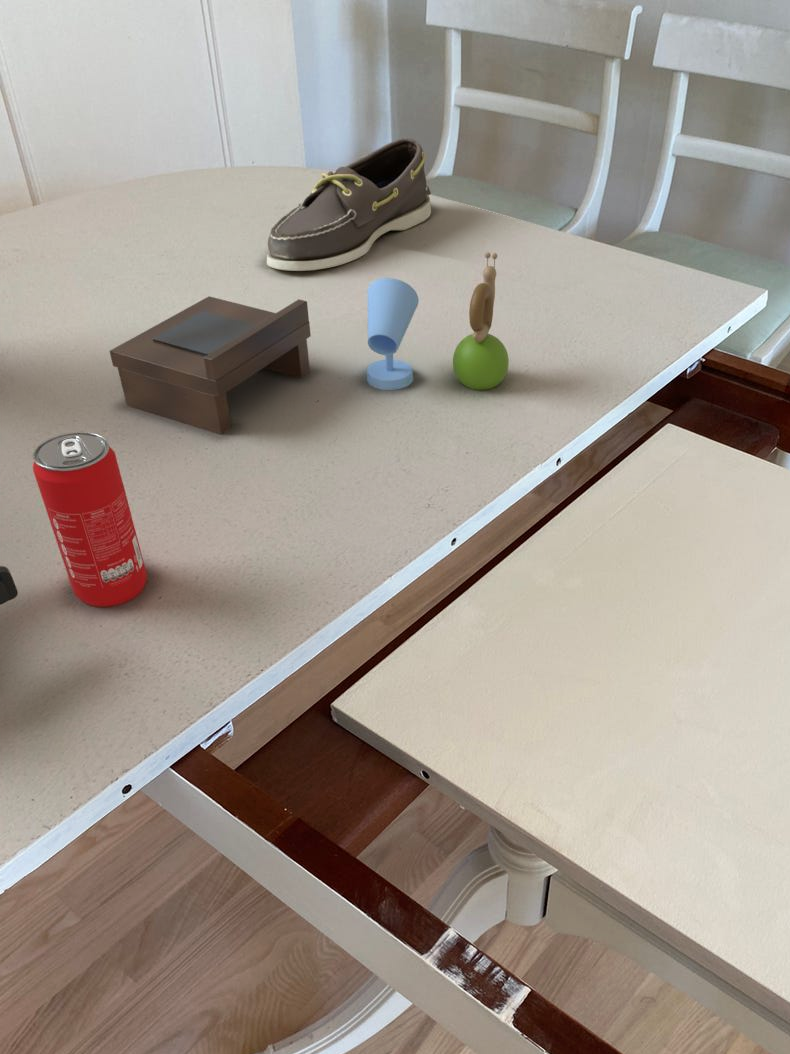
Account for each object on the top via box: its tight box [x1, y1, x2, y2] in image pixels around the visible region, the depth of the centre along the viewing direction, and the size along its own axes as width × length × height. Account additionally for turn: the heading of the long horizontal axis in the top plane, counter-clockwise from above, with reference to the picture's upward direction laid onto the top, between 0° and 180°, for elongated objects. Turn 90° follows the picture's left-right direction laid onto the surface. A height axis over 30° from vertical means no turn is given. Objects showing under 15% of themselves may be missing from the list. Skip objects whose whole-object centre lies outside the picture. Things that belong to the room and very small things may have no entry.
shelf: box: [109, 296, 311, 436], centre depth 91 cm, size 12×14×8 cm
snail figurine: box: [452, 251, 510, 391], centre depth 92 cm, size 5×6×12 cm
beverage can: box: [32, 431, 148, 608], centre depth 67 cm, size 5×5×12 cm
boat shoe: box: [266, 137, 432, 272], centre depth 122 cm, size 11×31×9 cm, turn 149°
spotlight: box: [366, 277, 419, 391], centre depth 93 cm, size 5×10×7 cm
